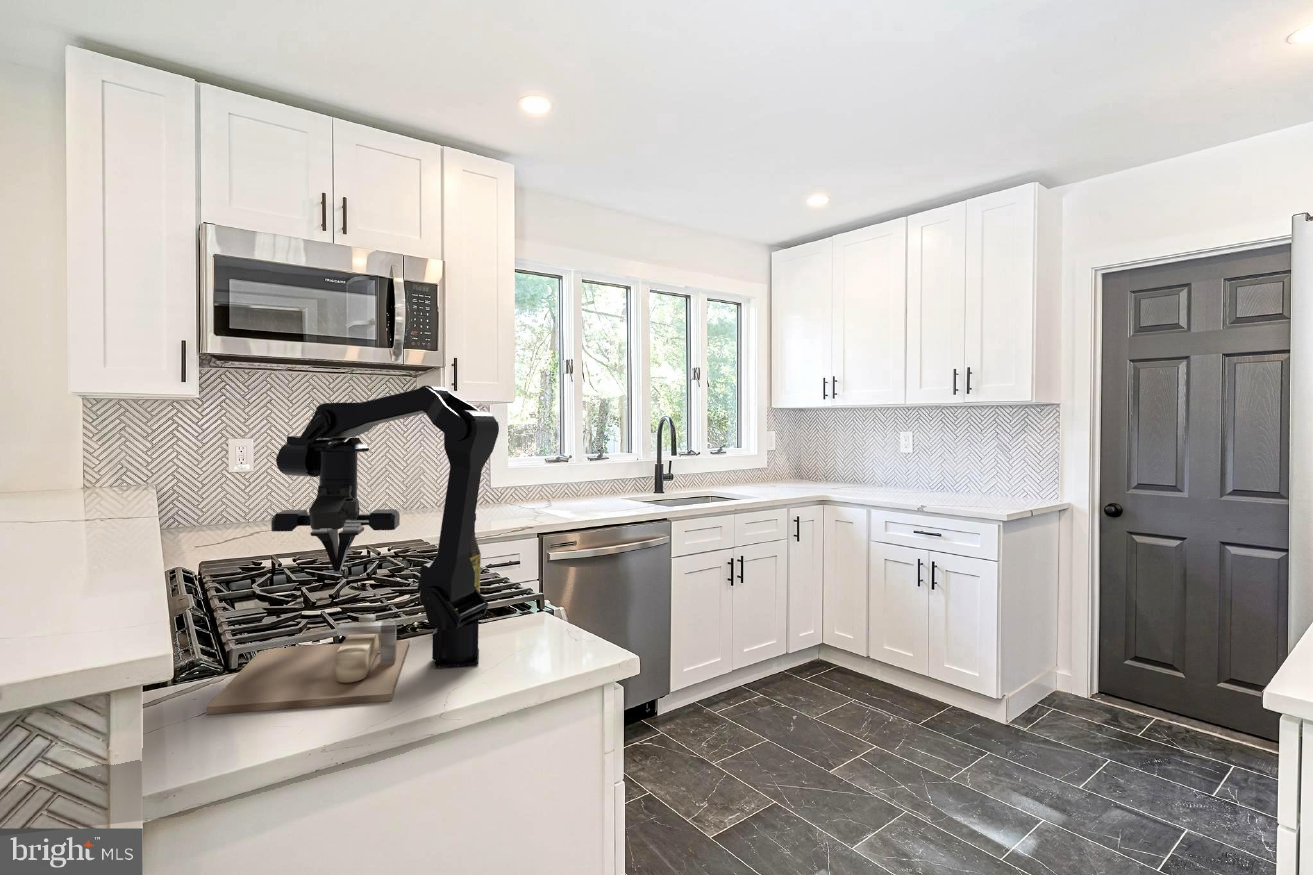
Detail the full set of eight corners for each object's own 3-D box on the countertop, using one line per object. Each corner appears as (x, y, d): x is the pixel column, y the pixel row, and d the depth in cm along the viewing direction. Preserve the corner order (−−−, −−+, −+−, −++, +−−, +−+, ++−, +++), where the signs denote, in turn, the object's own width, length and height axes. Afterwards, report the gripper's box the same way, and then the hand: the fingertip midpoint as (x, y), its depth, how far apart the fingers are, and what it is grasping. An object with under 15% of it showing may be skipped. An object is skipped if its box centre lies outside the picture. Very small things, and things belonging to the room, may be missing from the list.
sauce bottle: (469, 621, 125) (471, 516, 125) (439, 619, 126) (440, 514, 126) (485, 612, 132) (487, 511, 131) (456, 609, 133) (457, 510, 132)
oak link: (353, 643, 108) (353, 622, 108) (386, 641, 109) (386, 620, 109) (328, 683, 92) (328, 658, 92) (367, 681, 93) (367, 656, 93)
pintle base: (409, 645, 112) (410, 604, 111) (391, 700, 90) (392, 649, 90) (262, 654, 106) (263, 610, 106) (206, 714, 85) (206, 660, 85)
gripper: (259, 483, 102) (258, 584, 102) (389, 483, 106) (387, 581, 106) (283, 476, 113) (282, 568, 113) (400, 477, 117) (399, 566, 117)
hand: (337, 571), depth 112 cm, fingers closed
